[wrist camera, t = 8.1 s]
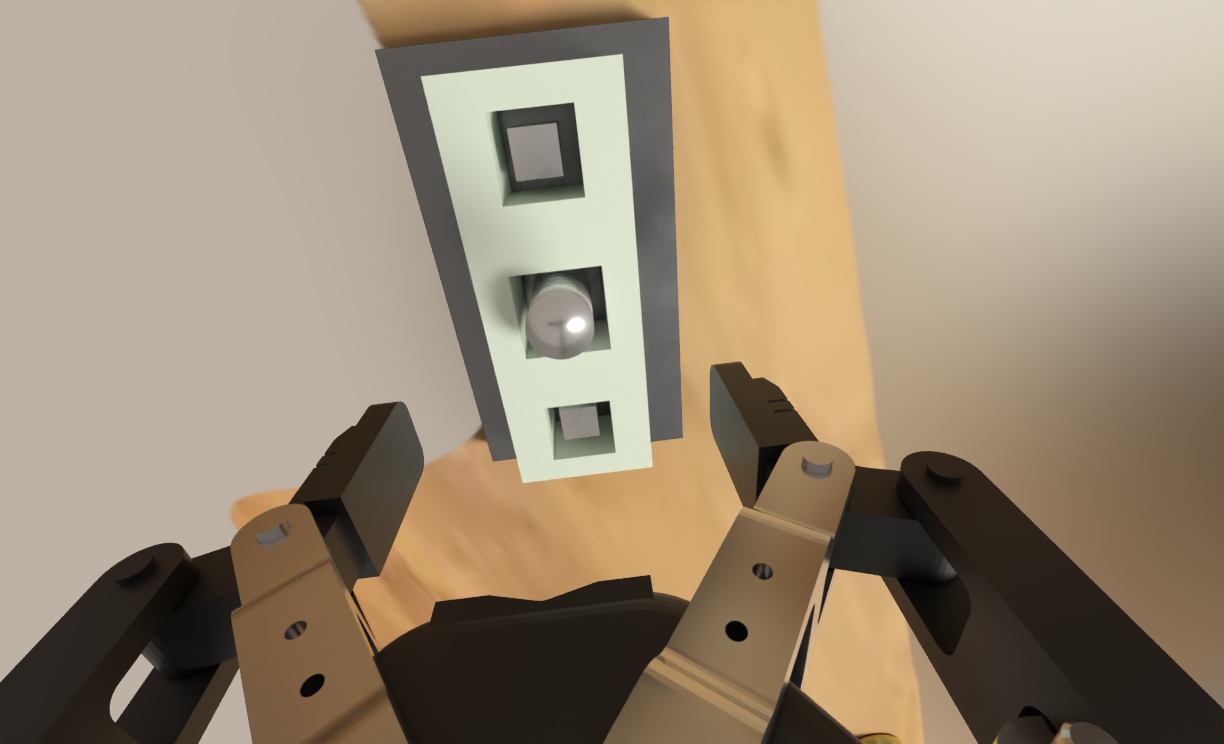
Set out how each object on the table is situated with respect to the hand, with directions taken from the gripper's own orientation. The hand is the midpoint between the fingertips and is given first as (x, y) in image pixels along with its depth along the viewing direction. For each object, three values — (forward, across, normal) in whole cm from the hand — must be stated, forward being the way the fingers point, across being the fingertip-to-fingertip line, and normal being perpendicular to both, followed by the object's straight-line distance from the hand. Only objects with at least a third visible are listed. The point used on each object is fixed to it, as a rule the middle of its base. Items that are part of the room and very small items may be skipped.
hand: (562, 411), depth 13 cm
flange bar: (+9, 0, 0) cm, 9 cm away
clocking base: (+11, 0, 0) cm, 11 cm away
